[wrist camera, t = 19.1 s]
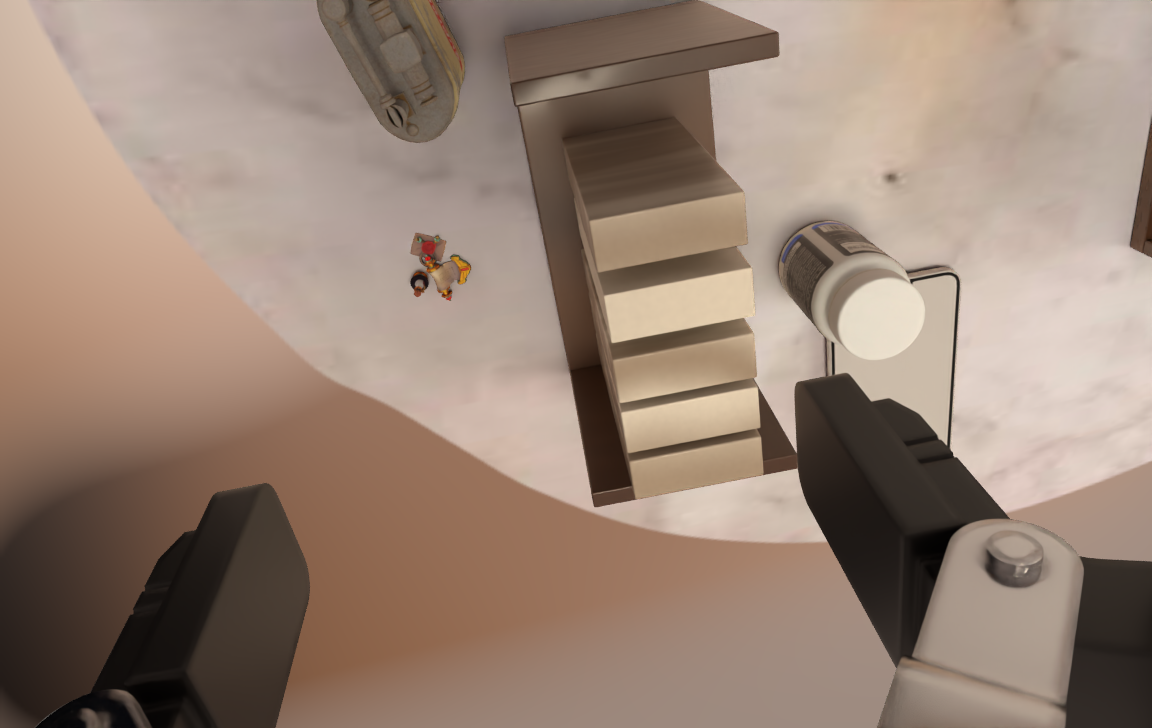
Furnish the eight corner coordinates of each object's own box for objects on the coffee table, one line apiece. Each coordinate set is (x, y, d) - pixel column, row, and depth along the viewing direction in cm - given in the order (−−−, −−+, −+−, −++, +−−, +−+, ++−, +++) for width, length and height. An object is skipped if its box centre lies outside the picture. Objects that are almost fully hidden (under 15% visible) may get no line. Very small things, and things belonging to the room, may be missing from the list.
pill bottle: (803, 319, 46) (858, 388, 38) (761, 253, 44) (809, 311, 36) (880, 270, 45) (952, 330, 37) (839, 200, 43) (906, 249, 35)
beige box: (573, 197, 41) (603, 296, 30) (683, 175, 41) (752, 266, 30) (580, 235, 42) (611, 343, 31) (687, 214, 42) (755, 316, 31)
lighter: (478, 85, 39) (475, 135, 30) (406, 121, 39) (383, 180, 30) (399, -72, 35) (370, -68, 27) (322, -31, 36) (268, -13, 27)
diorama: (439, 308, 44) (437, 325, 42) (386, 260, 42) (381, 276, 40) (479, 271, 43) (479, 287, 41) (426, 222, 42) (423, 236, 40)
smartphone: (833, 508, 52) (828, 294, 45) (829, 501, 53) (823, 289, 45) (949, 485, 52) (963, 267, 45) (944, 478, 53) (957, 262, 45)
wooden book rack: (503, 36, 38) (510, 88, 26) (697, -2, 38) (788, 35, 26) (570, 373, 46) (597, 523, 35) (728, 343, 46) (806, 482, 35)
